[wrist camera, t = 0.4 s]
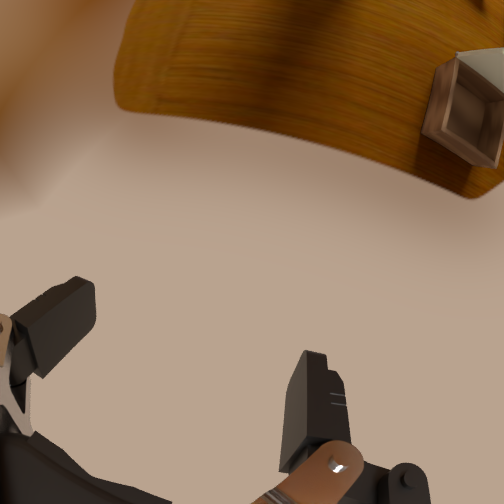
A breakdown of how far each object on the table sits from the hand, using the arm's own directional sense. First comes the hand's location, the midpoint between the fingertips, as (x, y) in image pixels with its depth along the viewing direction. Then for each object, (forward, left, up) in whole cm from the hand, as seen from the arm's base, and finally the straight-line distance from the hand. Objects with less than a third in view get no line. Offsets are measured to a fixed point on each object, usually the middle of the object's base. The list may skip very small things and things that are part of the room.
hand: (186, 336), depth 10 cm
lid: (-27, +21, -18) cm, 38 cm away
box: (-22, +21, -29) cm, 42 cm away
